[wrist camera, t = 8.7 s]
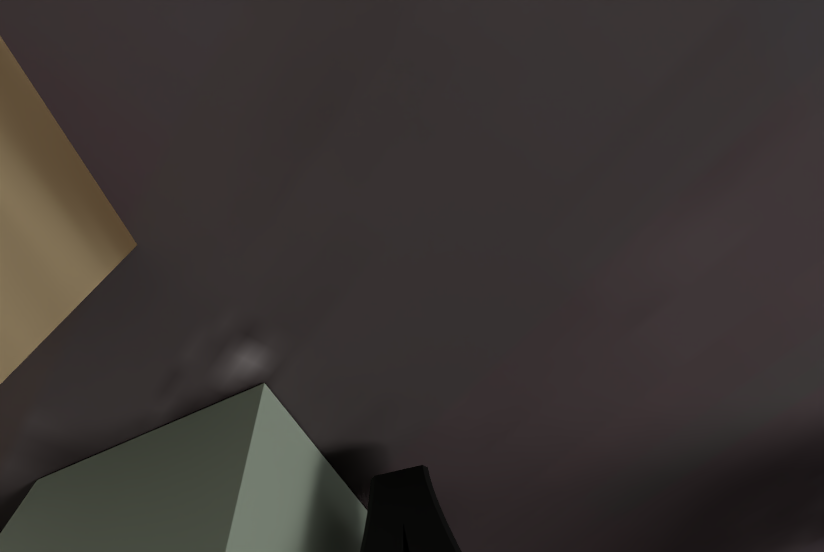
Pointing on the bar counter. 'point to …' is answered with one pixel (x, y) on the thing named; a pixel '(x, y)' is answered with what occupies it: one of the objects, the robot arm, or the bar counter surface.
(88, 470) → the sage block
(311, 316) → the bar counter surface
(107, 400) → the bar counter surface
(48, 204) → the oak block
